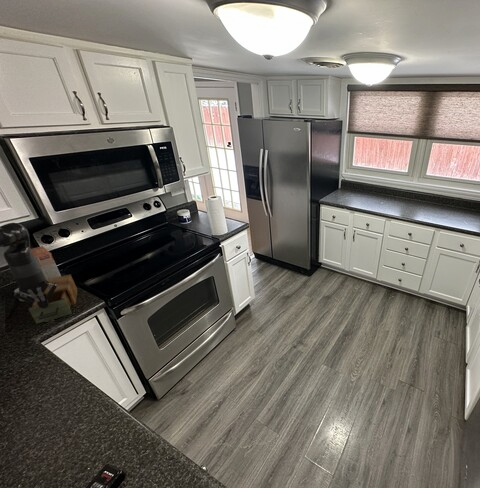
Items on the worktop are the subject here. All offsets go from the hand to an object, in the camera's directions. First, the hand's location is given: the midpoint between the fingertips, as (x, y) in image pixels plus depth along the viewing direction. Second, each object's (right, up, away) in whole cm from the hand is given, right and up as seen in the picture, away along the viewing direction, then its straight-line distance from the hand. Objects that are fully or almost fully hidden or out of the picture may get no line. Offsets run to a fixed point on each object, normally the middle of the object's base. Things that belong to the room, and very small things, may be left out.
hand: (45, 307), depth 112 cm
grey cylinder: (-29, 0, +19) cm, 35 cm away
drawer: (-4, -5, +8) cm, 11 cm away
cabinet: (-12, -1, +18) cm, 21 cm away
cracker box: (-25, +4, +29) cm, 38 cm away
